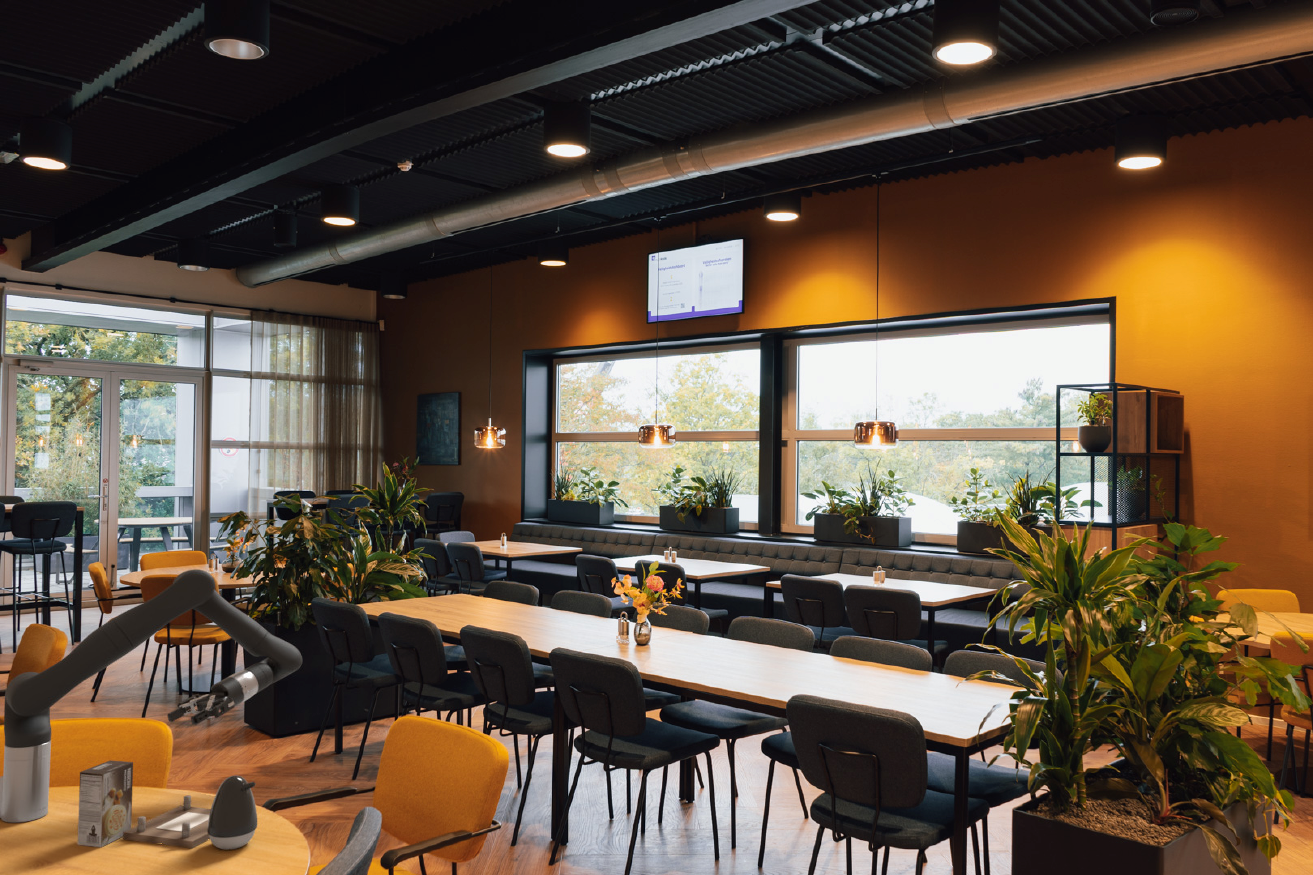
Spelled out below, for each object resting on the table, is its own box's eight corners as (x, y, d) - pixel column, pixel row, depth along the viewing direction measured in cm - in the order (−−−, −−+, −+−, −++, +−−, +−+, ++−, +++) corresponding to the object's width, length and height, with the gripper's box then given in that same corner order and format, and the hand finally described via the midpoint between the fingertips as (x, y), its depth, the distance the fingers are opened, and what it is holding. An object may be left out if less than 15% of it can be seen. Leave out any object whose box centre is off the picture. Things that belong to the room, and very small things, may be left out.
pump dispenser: (236, 856, 208) (239, 785, 208) (195, 850, 210) (198, 780, 211) (267, 839, 217) (269, 771, 218) (228, 833, 220) (230, 766, 221)
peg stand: (123, 838, 216) (123, 818, 216) (180, 811, 233) (180, 792, 233) (192, 848, 212) (193, 827, 212) (245, 819, 229) (246, 800, 229)
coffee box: (107, 829, 221) (110, 759, 221) (131, 832, 219) (134, 761, 220) (75, 845, 212) (79, 771, 212) (101, 848, 210) (104, 773, 211)
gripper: (212, 674, 251) (157, 703, 237) (251, 677, 245) (197, 707, 230) (218, 701, 252) (164, 731, 238) (257, 705, 246) (204, 736, 232)
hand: (180, 719), depth 234 cm, fingers open, 8 cm apart
